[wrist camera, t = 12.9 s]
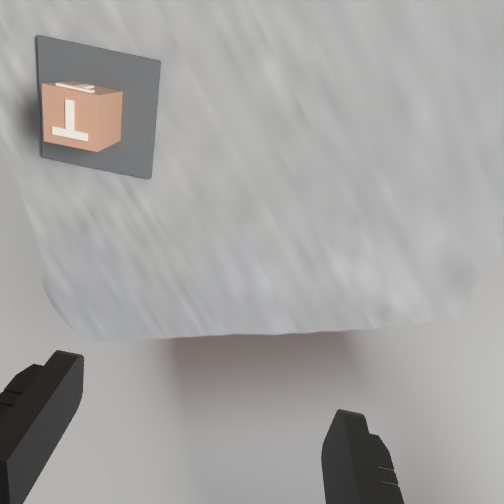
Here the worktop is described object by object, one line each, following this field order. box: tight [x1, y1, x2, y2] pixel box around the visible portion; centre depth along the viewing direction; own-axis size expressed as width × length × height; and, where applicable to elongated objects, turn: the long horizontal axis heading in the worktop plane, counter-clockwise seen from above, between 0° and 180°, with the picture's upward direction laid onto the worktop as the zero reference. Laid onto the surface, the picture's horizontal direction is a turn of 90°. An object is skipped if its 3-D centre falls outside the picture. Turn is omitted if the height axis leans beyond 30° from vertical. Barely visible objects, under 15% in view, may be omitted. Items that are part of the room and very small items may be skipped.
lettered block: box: [42, 81, 123, 152], centre depth 38 cm, size 5×5×6 cm
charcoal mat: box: [37, 35, 161, 179], centre depth 41 cm, size 12×12×1 cm
